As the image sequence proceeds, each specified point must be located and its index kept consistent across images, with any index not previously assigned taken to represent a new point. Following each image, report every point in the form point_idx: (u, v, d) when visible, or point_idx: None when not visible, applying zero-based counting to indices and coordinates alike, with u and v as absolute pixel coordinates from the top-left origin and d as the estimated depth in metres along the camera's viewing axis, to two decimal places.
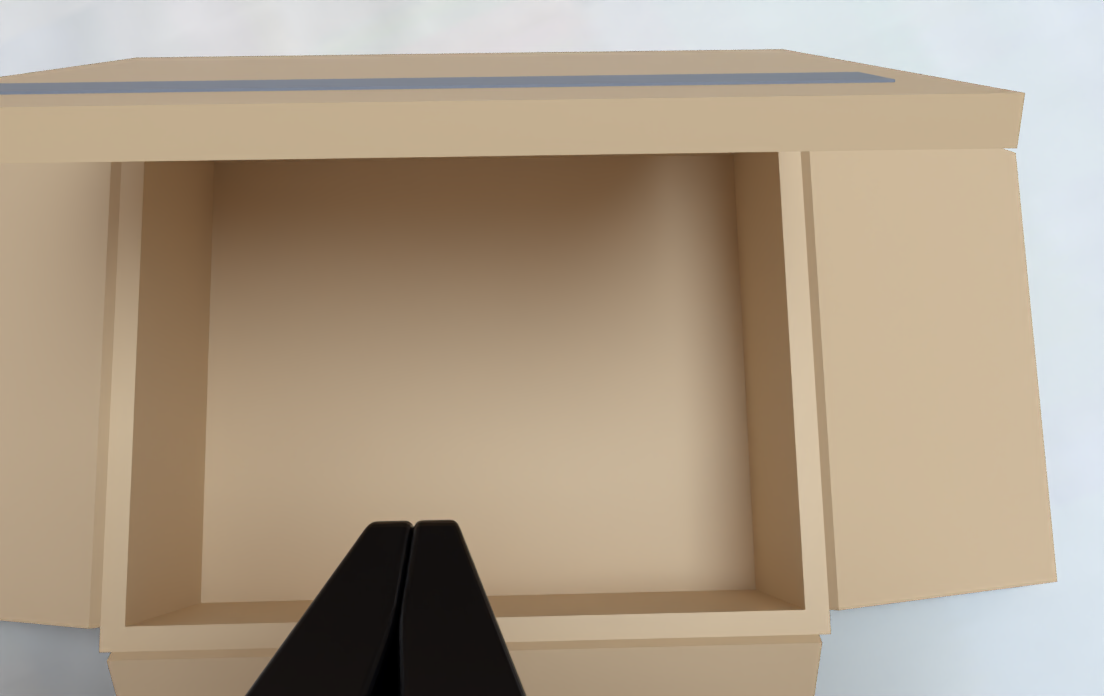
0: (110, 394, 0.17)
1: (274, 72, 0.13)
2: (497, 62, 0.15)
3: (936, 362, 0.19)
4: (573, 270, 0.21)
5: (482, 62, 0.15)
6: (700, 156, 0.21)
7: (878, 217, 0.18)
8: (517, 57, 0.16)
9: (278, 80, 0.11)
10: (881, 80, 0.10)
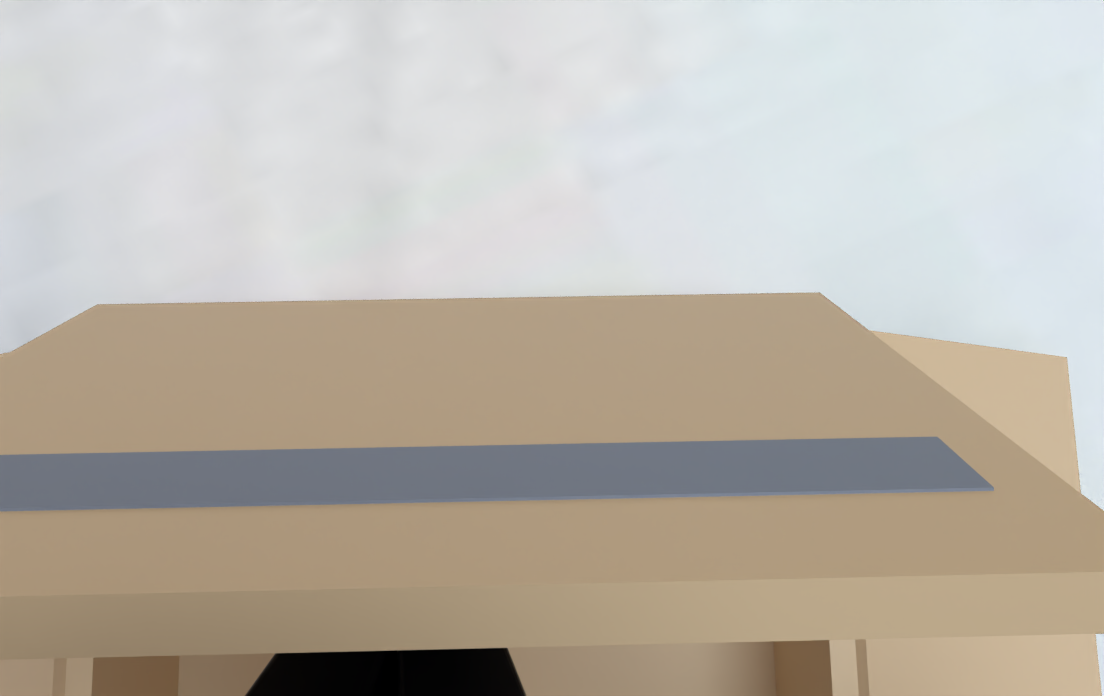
0: (64, 694, 0.15)
1: (239, 393, 0.11)
2: (501, 349, 0.13)
3: None
4: None
5: (484, 349, 0.13)
6: None
7: None
8: (523, 322, 0.14)
9: (236, 454, 0.09)
10: (977, 489, 0.08)
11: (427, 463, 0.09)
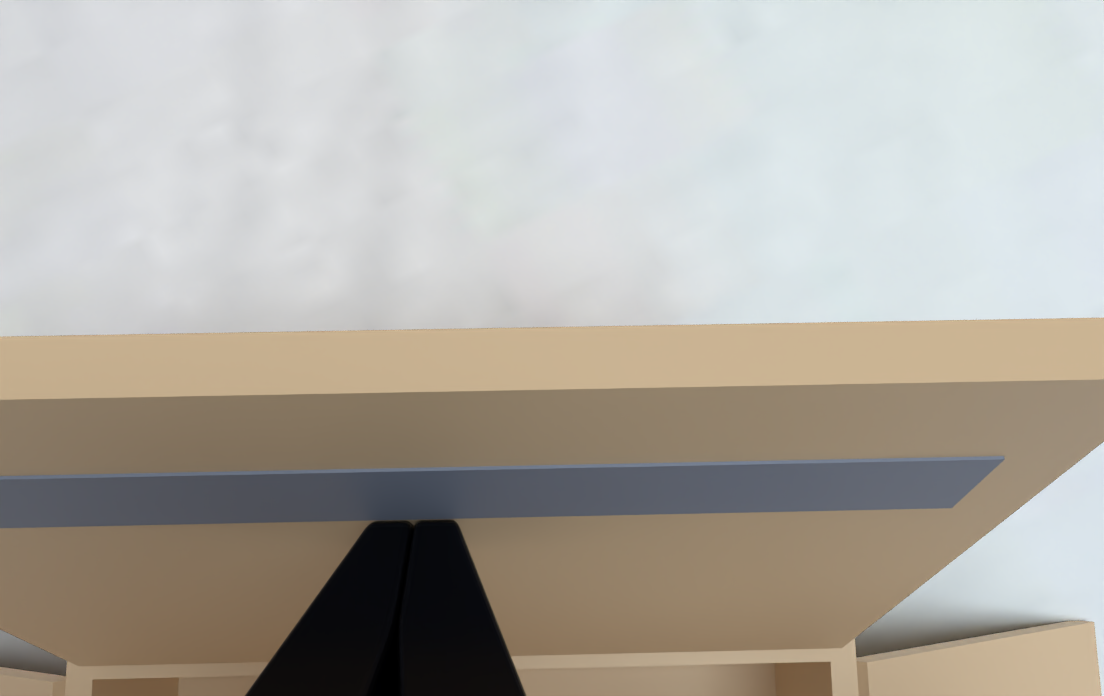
0: None
1: None
2: None
3: None
4: None
5: None
6: None
7: None
8: None
9: None
10: None
11: None
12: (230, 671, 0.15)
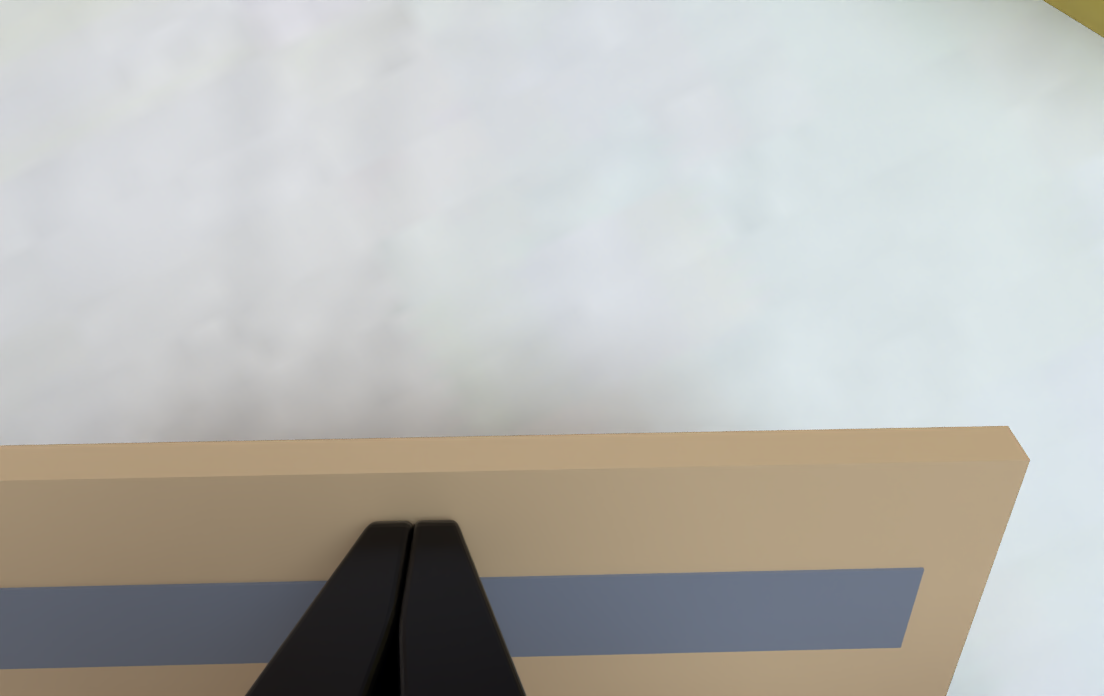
0: None
1: None
2: None
3: None
4: None
5: None
6: None
7: None
8: None
9: None
10: None
11: None
12: None
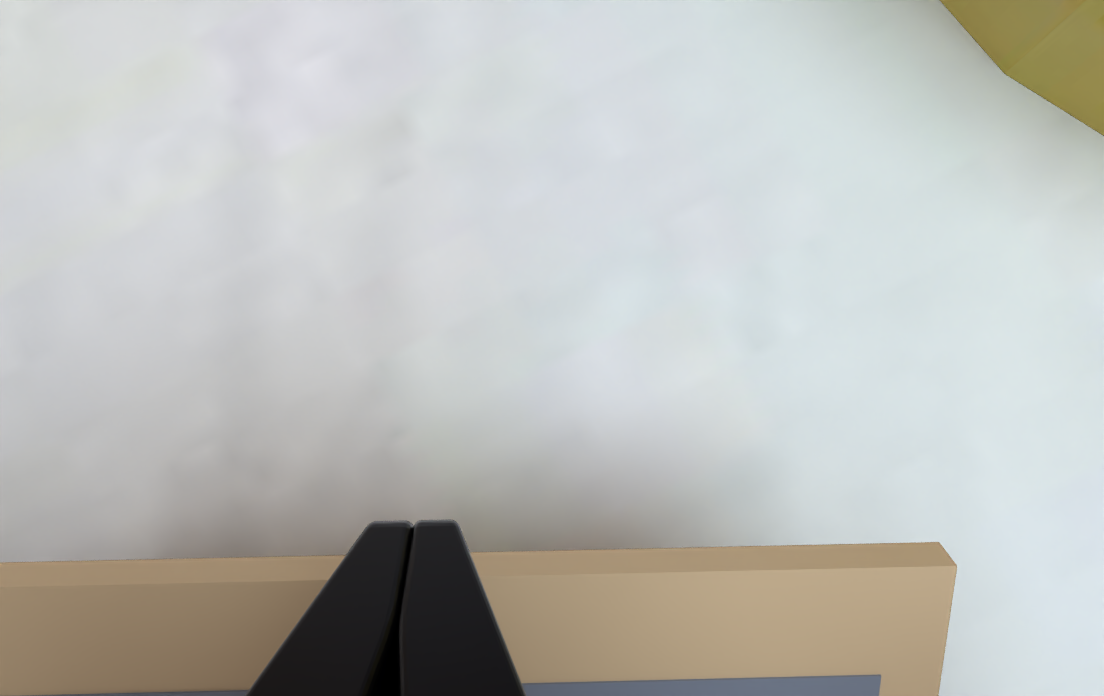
0: None
1: None
2: None
3: None
4: None
5: None
6: None
7: None
8: None
9: None
10: None
11: None
12: None
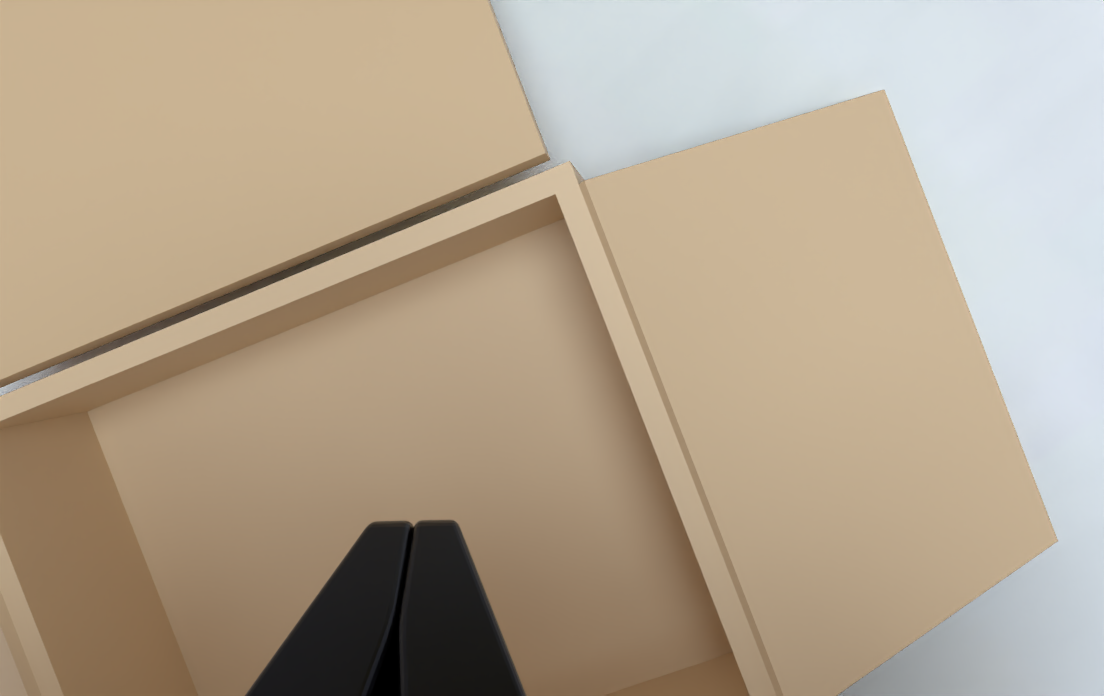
0: None
1: None
2: None
3: (843, 396, 0.17)
4: (459, 394, 0.20)
5: None
6: (543, 226, 0.19)
7: (724, 279, 0.16)
8: None
9: None
10: None
11: None
12: (62, 391, 0.17)
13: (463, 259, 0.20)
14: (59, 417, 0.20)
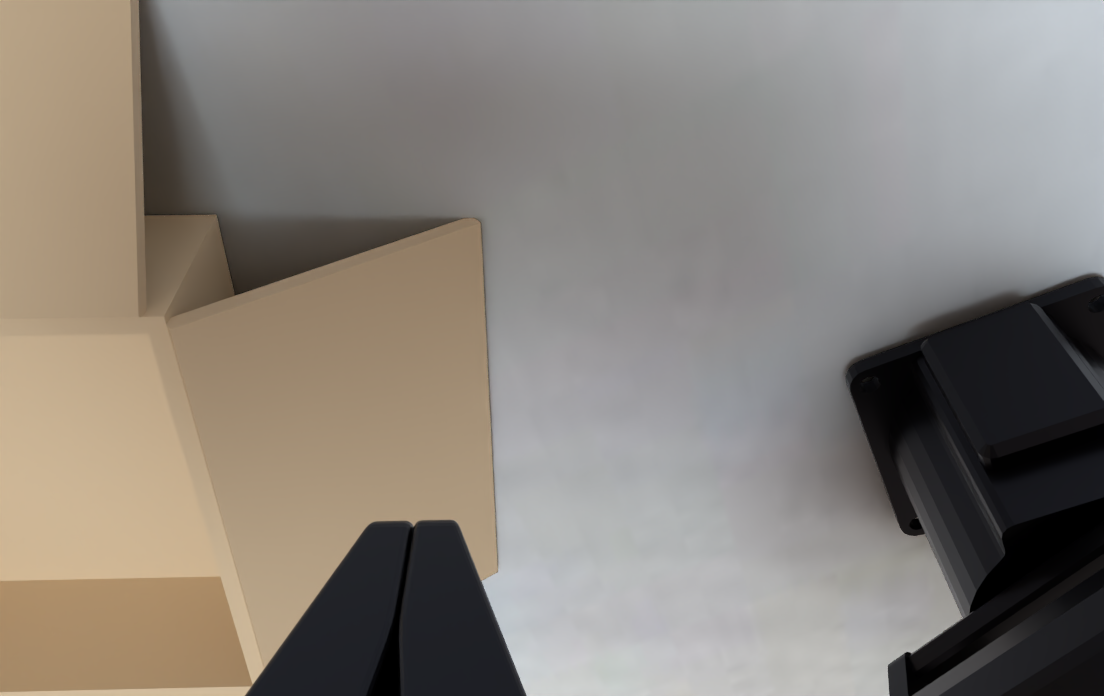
0: None
1: None
2: None
3: None
4: None
5: None
6: None
7: None
8: None
9: None
10: None
11: None
12: None
13: None
14: None
